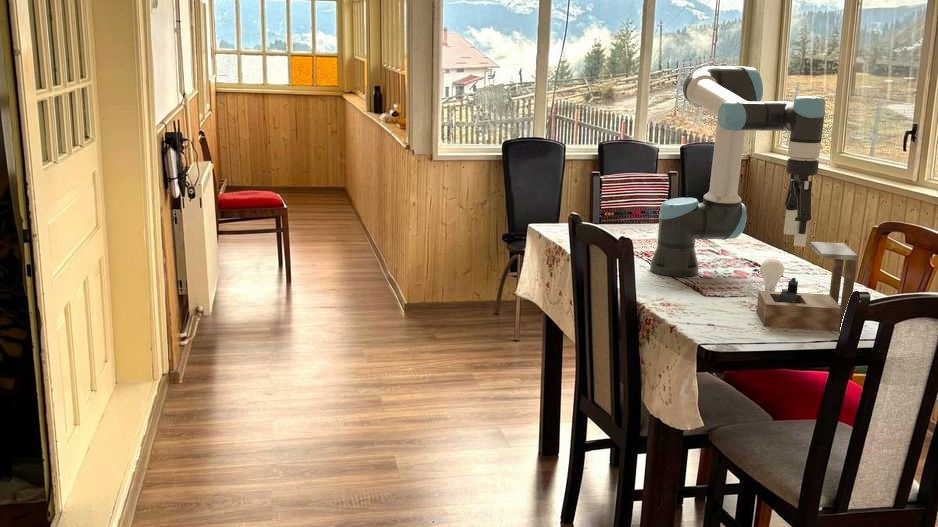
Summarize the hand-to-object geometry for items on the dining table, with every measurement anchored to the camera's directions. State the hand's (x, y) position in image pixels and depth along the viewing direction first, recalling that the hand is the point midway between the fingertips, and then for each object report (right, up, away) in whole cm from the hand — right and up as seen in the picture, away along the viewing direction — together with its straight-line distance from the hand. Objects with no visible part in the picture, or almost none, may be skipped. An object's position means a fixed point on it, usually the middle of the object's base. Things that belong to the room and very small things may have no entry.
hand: (794, 240), depth 225 cm
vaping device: (0, -21, +5) cm, 22 cm away
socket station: (+3, -21, +5) cm, 22 cm away
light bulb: (+4, -15, +29) cm, 33 cm away
